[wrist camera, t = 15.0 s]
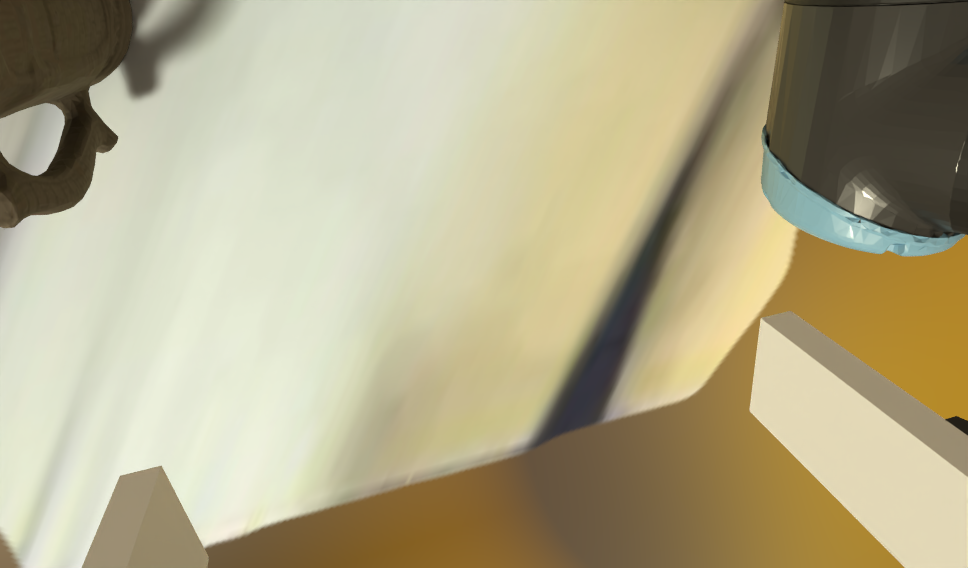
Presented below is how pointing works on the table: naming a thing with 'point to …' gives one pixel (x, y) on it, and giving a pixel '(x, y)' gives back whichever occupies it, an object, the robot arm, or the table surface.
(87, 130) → the beer stein
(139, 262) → the table surface
